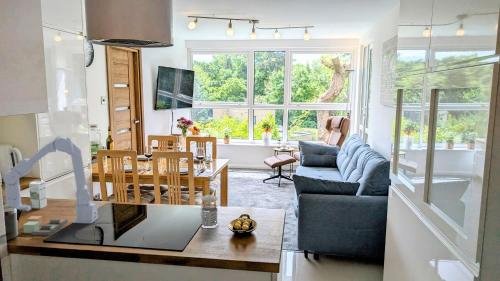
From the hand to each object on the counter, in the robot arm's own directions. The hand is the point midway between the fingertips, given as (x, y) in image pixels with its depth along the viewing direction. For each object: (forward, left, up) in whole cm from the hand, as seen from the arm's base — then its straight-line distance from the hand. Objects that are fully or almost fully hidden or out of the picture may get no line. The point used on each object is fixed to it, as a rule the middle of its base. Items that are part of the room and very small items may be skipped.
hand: (15, 225), depth 162 cm
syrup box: (+9, -32, -3) cm, 34 cm away
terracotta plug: (-5, -7, -3) cm, 9 cm away
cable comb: (-14, -4, -3) cm, 14 cm away
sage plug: (-8, 0, -3) cm, 8 cm away
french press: (-88, -11, -3) cm, 89 cm away
